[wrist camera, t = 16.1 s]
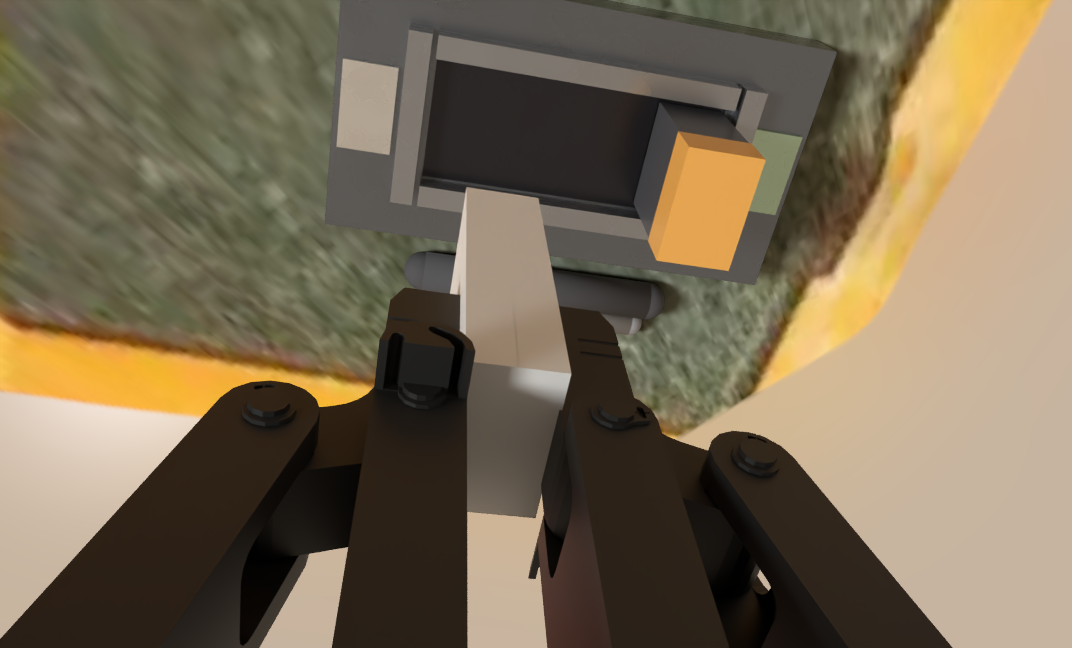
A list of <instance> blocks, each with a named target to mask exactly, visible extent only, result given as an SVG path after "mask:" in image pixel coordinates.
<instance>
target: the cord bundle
mask: <svg viewBox="0 0 1072 648" xmlns="http://www.w3.org/2000/svg"><path fill="white" fill-rule="evenodd" d="M455 258H456V256H454V255H447V254H440V253H432V252H423V251H422V252H417V253H415V254H413V255H412V256H411V257H409V259H408V260H407V262H406V264H405V267H404V273H405V277H406V280H407V281H408V283H409V284H410V285H411V286H413V287H414V288H417V289H419V290H426V291H434V292H441V293H449V294H450V290H451V284H452V277H453V271H454V264H455ZM552 273H553V279H554V284H555V289H556V295H557V300H558V305H559V306H562V307H570V308H577V309H585V310H592V311H599V312H600V313H601V314H602V316H603V317H604V318H605V319H606V320H607V321H608V322H609V323H610V324H611V325H612V326H613V327H614V330H615V333H616V334H624V335H632V334H635V333H636V332H638V331H639V329H640V328H641V324H642V320H641V319H651V318H654V317H656V316H657V315H658V314H659V313H660V312H661V311H662V309H663V307H664V295H663V293H662V291H661V290H660V288H659V287H657V286H656V285H654V284H652V283H647V282H640V281H633V280H626V279H619V278H611V277H604V276H597V275H590V274H583V273H576V272H569V271H561V270H554V269H552Z"/></svg>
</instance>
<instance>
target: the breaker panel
mask: <svg viewBox="0 0 1072 648" xmlns="http://www.w3.org/2000/svg"><path fill="white" fill-rule="evenodd" d="M836 54H837V52H836V51H835V50H833V49H831V48H830V47H828V46H826V45H825V44H823V43H821V42H820V41H817V40H812V39H807V38H802V37H796V36H791V35H786V34H781V33H776V32H770V31H765V30H760V29H755V28H749V27H744V26H739V25H734V24H728V23H723V22H718V21H713V20H707V19H702V18H697V17H692V16H686V15H681V14H676V13H671V12H666V11H660V10H655V9H650V8H645V7H639V6H634V5H629V4H624V3H618V2H613V1H608V0H341V1H340V16H339V30H338V44H337V58H336V72H335V86H334V100H333V114H332V129H331V143H330V157H329V171H328V185H327V199H326V213H325V224H330V225H337V226H344V227H351V228H358V229H365V230H372V231H379V232H386V233H393V234H400V235H407V236H414V237H421V238H429V239H436V240H443V241H450V242H457V243H458V239H459V232H460V226H461V220H462V213H463V207H464V200H465V194H466V188H467V187H469V188H476V189H483V190H489V191H496V192H502V193H509V194H515V195H522V196H528V197H535V198H538V199H539V204H540V209H541V215H542V220H543V225H544V231H545V236H546V241H547V247H548V252H549V256H555V257H562V258H569V259H576V260H583V261H591V262H598V263H605V264H612V265H619V266H626V267H633V268H640V269H647V270H654V271H661V272H668V273H675V274H682V275H689V276H696V277H703V278H710V279H717V280H724V281H731V282H738V283H745V284H752V285H755V283H756V280H757V277H758V274H759V271H760V269H761V266H762V263H763V260H764V257H765V254H766V252H767V249H768V246H769V243H770V240H771V237H772V235H773V232H774V229H775V226H776V223H777V221H778V218H779V215H780V212H781V209H782V206H783V204H784V201H785V198H786V195H787V192H788V190H789V187H790V184H791V181H792V178H793V175H794V173H795V170H796V167H797V164H798V161H799V159H800V156H801V153H802V150H803V147H804V144H805V142H806V139H807V136H808V133H809V130H810V128H811V125H812V122H813V119H814V116H815V113H816V111H817V108H818V105H819V102H820V99H821V97H822V94H823V91H824V88H825V85H826V82H827V80H828V77H829V74H830V71H831V68H832V66H833V63H834V60H835V57H836ZM660 102H664V103H669V104H675V105H681V106H687V107H692V108H698V109H704V110H710V111H715V112H721V113H723V114H724V115H725V117H726V118H727V119H728V120H729V121H730V122H731V123H732V124H733V126H734V127H735V128H736V129H737V130H738V131H739V132H740V133H741V135H742V136H743V137H744V138H745V139H746V140H747V141H748V142H749V143H751V144H752V145H753V146H754V147H755V148H756V149H757V150H758V151H759V153H760V154H761V155H762V156H763V157H764V158H765V159H766V161H765V164H764V167H763V170H762V173H761V176H760V179H759V182H758V185H757V188H756V191H755V194H754V197H753V200H752V203H751V206H750V209H749V212H748V215H747V218H746V221H745V223H744V226H743V229H742V232H741V235H740V238H739V241H738V244H737V247H736V250H735V253H734V256H733V259H732V262H731V265H730V268H729V271H725V270H718V269H711V268H704V267H697V266H690V265H683V264H676V263H670V262H663V261H657V260H656V258H655V256H654V254H653V251H652V249H651V247H650V244H649V242H648V239H649V237H648V235H647V233H646V231H645V228H644V226H643V224H642V221H641V219H640V217H639V215H638V212H637V210H636V208H635V205H634V199H635V195H636V191H637V187H638V183H639V180H640V176H641V172H642V168H643V164H644V160H645V157H646V153H647V149H648V145H649V141H650V137H651V134H652V130H653V126H654V122H655V118H656V115H657V111H658V107H659V103H660Z"/></svg>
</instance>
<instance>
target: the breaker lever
mask: <svg viewBox="0 0 1072 648" xmlns="http://www.w3.org/2000/svg"><path fill="white" fill-rule="evenodd" d="M765 161H766V159H765V158H764V157H763V156H762V155H761V154H760V153H759V151H758V150H757V149H756V148H755V147H754V146H753V145H752V144H751V143H749V142H748V141H747V140H746V139H745V138H744V137H743V136H742V135H741V133H740V132H739V131H738V130H737V129H736V128H735V127H734V126H733V124H732V123H731V122H730V121H729V120H728V119H727V118H726V117H725V115H724V114H723V113H721V112H715V111H710V110H704V109H698V108H692V107H687V106H681V105H675V104H669V103H664V102H660V103H659V107H658V111H657V115H656V118H655V122H654V126H653V130H652V134H651V137H650V141H649V145H648V149H647V153H646V157H645V160H644V164H643V168H642V172H641V176H640V180H639V183H638V187H637V191H636V195H635V199H634V205H635V208H636V210H637V212H638V215H639V217H640V219H641V221H642V224H643V226H644V228H645V231H646V233H647V235H648V237H649V239H648V242H649V244H650V247H651V249H652V251H653V254H654V256H655V258H656V260H657V261H663V262H670V263H676V264H683V265H690V266H697V267H704V268H711V269H718V270H725V271H729V268H730V265H731V262H732V259H733V256H734V253H735V250H736V247H737V244H738V241H739V238H740V235H741V232H742V229H743V226H744V223H745V221H746V218H747V215H748V212H749V209H750V206H751V203H752V200H753V197H754V194H755V191H756V188H757V185H758V182H759V179H760V176H761V173H762V170H763V167H764V164H765Z"/></svg>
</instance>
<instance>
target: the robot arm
mask: <svg viewBox="0 0 1072 648" xmlns="http://www.w3.org/2000/svg"><path fill="white" fill-rule="evenodd" d="M541 494H542V500H543V509H544V516H543V520H542V524H541V528H540V532H539V536H538V539H537V543H536V547H535V551H534V556H533V559H532V563H531V567H530V573H529V578H530V579H536V575H537V571H538V568H539V567H540V572H541V584H542V595H543V605H544V616H545V627H546V638H547V647H548V648H952V647H951V646H950V644H949V643H948V642H947V641H946V639H945V638H944V637H943V636H942V635H941V633H940V632H939V631H938V630H937V629H936V627H935V626H934V625H933V624H932V623H931V621H930V620H929V619H928V618H927V617H926V615H925V614H924V613H923V612H922V611H921V609H920V608H919V607H918V606H917V605H916V603H914V601H913V600H912V599H911V598H910V597H909V595H908V594H907V593H906V591H905V590H904V589H903V588H902V587H901V586H900V584H899V583H898V582H897V581H896V580H895V578H894V577H893V576H892V575H891V574H890V572H889V571H888V570H887V569H886V568H885V566H884V565H883V564H882V563H881V562H880V561H879V559H878V558H877V557H876V556H875V554H874V553H873V552H872V551H871V550H870V549H869V547H868V546H867V545H866V544H865V543H864V541H863V540H862V539H861V538H860V536H859V535H858V534H857V533H856V532H855V531H854V529H853V528H852V527H851V526H850V525H849V523H848V522H847V521H846V520H845V519H844V517H843V516H842V515H841V514H840V513H839V511H838V510H837V509H836V508H835V507H834V505H833V504H832V503H831V502H830V501H829V500H828V498H827V497H826V496H825V495H824V493H822V491H821V490H820V489H819V487H818V486H817V485H816V484H815V483H814V481H813V480H812V479H811V478H810V477H809V476H808V474H807V473H806V472H805V471H804V470H803V468H802V467H801V466H800V465H799V464H798V462H797V461H796V460H795V459H794V458H793V457H792V456H791V455H790V454H789V453H788V452H787V451H786V450H785V449H783V448H782V447H781V446H780V445H778V444H776V443H774V442H772V441H770V440H769V439H767V438H765V437H763V436H760V435H756V434H753V433H749V432H738V431H731V432H726V433H722V434H719V435H718V436H717V437H716V438H714V439H713V440H712V442H711V445H710V447H709V450H708V451H707V450H704V449H701V448H698V447H695V446H692V445H689V444H686V443H682V442H680V441H677V440H675V439H672V438H670V437H668V436H666V435H664V434H662V432H661V429H660V426H659V423H658V420H657V418H656V417H655V415H654V413H653V412H652V410H651V409H649V408H648V407H647V406H646V405H645V404H643V403H642V402H641V401H639V400H637V399H635V398H634V396H633V392H632V389H631V385H630V382H629V379H628V375H627V372H626V368H625V365H624V361H623V360H622V354H621V351H620V347H619V346H618V341H617V337H616V334H615V330H614V327H613V326H612V325H611V324H610V323H609V322H608V321H607V320H606V319H605V318H604V317H603V316H602V314H601V313H600V312H599V311H592V310H585V309H577V308H570V307H562V306H559V305H558V300H557V295H556V289H555V284H554V279H553V273H552V268H551V263H550V257H549V252H548V247H547V241H546V236H545V231H544V225H543V220H542V215H541V209H540V204H539V199H538V198H535V197H528V196H522V195H515V194H509V193H502V192H496V191H489V190H483V189H476V188H469V187H467V188H466V194H465V200H464V207H463V213H462V220H461V226H460V232H459V239H458V245H457V252H456V258H455V264H454V271H453V277H452V284H451V290H450V294H449V293H441V292H434V291H426V290H419V289H411V288H404V289H403V290H401V291H400V292H399V293H398V294H397V295H396V296H395V297H394V298H392V299H391V300H390V306H389V312H388V319H387V324H386V330H385V331H384V333H383V335H382V336H381V338H380V342H379V350H378V359H377V368H376V377H375V386H374V388H373V389H372V390H371V391H370V392H369V393H368V394H366V395H365V396H363V397H362V398H360V399H358V400H355V401H352V402H350V403H347V404H341V405H336V406H328V407H319V406H318V403H317V400H316V399H315V398H314V397H313V396H312V395H311V394H310V393H309V392H307V391H306V390H305V389H302V388H300V387H297V386H295V385H292V384H290V383H284V382H277V381H260V382H250V383H247V384H244V385H241V386H238V387H235V388H233V389H231V390H230V391H229V392H227V393H226V394H224V395H223V396H222V397H220V399H219V400H218V401H217V402H216V403H215V404H214V405H213V406H212V407H211V408H210V410H209V411H208V412H207V413H206V414H205V415H204V416H203V417H202V418H201V419H200V421H199V422H198V423H197V424H196V425H195V426H194V427H193V428H192V430H190V431H189V433H188V434H187V435H186V436H185V437H184V438H183V439H182V440H181V441H180V443H179V444H178V445H177V446H176V447H175V448H174V449H173V450H172V451H171V452H170V453H169V455H168V456H167V457H166V458H165V459H164V460H163V461H162V462H161V463H160V464H159V465H158V467H157V468H156V469H155V470H154V471H153V472H152V473H151V474H150V475H149V476H148V478H147V479H146V480H145V481H144V482H143V483H142V484H141V485H140V486H139V488H138V489H137V490H136V491H135V492H134V493H133V494H132V495H131V496H130V497H129V498H128V499H127V501H126V502H125V503H124V504H123V505H122V506H121V507H120V508H119V509H118V510H117V512H116V513H115V514H114V515H113V516H112V517H111V518H110V519H109V520H108V521H107V523H106V524H105V525H104V526H103V527H102V528H101V529H100V530H99V531H98V533H96V535H95V536H94V537H93V538H92V539H91V540H90V541H89V542H88V543H87V544H86V546H85V547H84V548H83V549H82V550H81V551H80V552H79V553H78V554H77V556H75V558H74V559H73V560H72V561H71V562H70V563H69V564H68V565H67V566H66V568H65V569H64V570H63V571H62V572H61V573H60V574H59V575H58V577H56V578H55V580H54V581H53V582H52V583H51V584H50V585H49V586H48V587H47V588H46V589H45V590H44V592H43V593H42V594H41V595H40V596H39V597H38V598H37V599H36V601H34V603H33V604H32V605H31V606H30V607H29V608H28V609H27V610H26V611H25V612H24V614H23V615H22V616H21V617H20V618H19V619H18V620H17V621H16V622H15V624H14V625H13V626H12V627H11V628H10V629H9V630H8V631H7V632H6V633H5V634H4V635H3V637H2V638H1V639H0V648H259V647H260V645H261V644H262V642H263V640H264V638H265V636H266V635H267V633H268V631H269V629H270V628H271V626H272V624H273V622H274V621H275V619H276V617H277V615H278V614H279V612H280V610H281V608H282V607H283V605H284V603H285V601H286V599H287V598H288V596H289V594H290V592H291V591H292V589H293V587H294V585H295V583H296V582H297V580H298V578H299V576H300V575H301V572H302V571H303V569H304V568H305V566H306V562H307V559H308V555H309V554H310V553H315V552H322V551H327V550H333V549H339V548H345V547H348V552H347V558H346V564H345V570H344V576H343V583H342V589H341V595H340V601H339V607H338V613H337V619H336V626H335V631H334V637H333V644H332V648H467V512H476V513H487V514H497V515H508V516H519V517H529V518H536V514H537V510H538V506H539V502H540V498H541ZM759 570H761V571H762V573H763V574H764V576H765V577H766V579H767V580H768V582H769V584H770V586H771V589H770V590H769V591H768V590H767V589H766V588H765V586H763V584H762V582H761V581H760V579H759V578H758V576H757V575H758V573H759Z"/></svg>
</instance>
